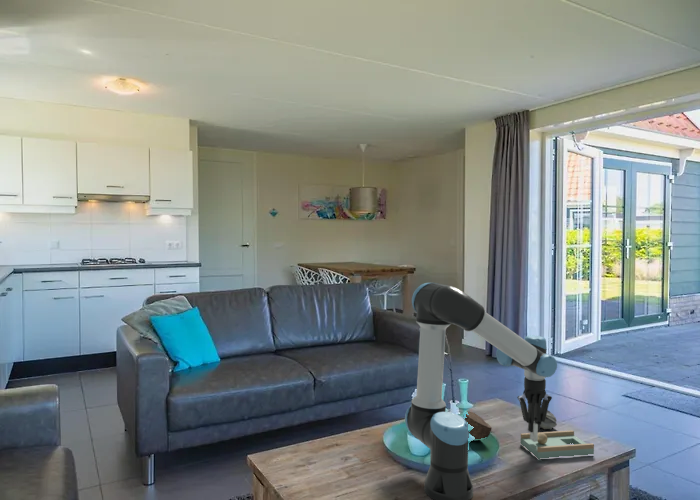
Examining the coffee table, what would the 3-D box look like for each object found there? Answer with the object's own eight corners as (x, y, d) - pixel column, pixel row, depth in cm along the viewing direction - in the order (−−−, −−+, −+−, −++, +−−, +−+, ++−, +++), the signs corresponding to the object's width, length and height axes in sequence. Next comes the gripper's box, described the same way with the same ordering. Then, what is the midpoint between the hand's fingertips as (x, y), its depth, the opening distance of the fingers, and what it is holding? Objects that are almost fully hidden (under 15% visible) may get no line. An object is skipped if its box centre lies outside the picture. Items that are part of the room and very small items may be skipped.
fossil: (537, 433, 203) (537, 413, 203) (524, 424, 212) (525, 406, 212) (561, 431, 206) (561, 412, 205) (548, 422, 214) (548, 404, 214)
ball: (539, 446, 184) (539, 435, 183) (533, 441, 188) (534, 431, 187) (549, 445, 184) (549, 435, 184) (543, 441, 188) (543, 430, 188)
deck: (538, 460, 179) (538, 448, 179) (520, 445, 192) (520, 433, 191) (593, 456, 182) (594, 444, 182) (572, 441, 195) (572, 430, 195)
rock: (497, 431, 193) (484, 421, 188) (482, 452, 192) (468, 443, 187) (476, 413, 204) (463, 404, 198) (461, 434, 203) (448, 425, 198)
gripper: (523, 381, 180) (522, 445, 181) (556, 379, 182) (555, 443, 183) (513, 375, 187) (512, 437, 188) (545, 374, 189) (544, 434, 190)
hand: (533, 440), depth 185 cm, fingers closed
